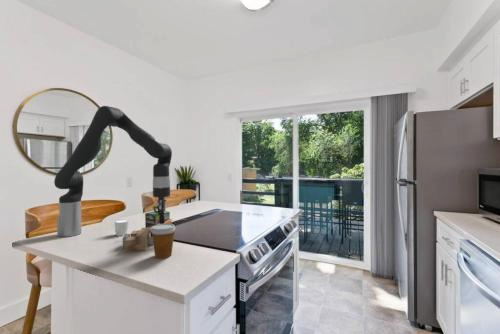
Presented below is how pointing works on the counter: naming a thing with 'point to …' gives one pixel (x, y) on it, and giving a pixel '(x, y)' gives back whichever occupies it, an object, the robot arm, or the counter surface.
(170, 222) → the keeper flap
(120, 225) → the white cup
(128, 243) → the hitch block
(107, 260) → the counter surface
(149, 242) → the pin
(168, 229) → the disposable coffee cup
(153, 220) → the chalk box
